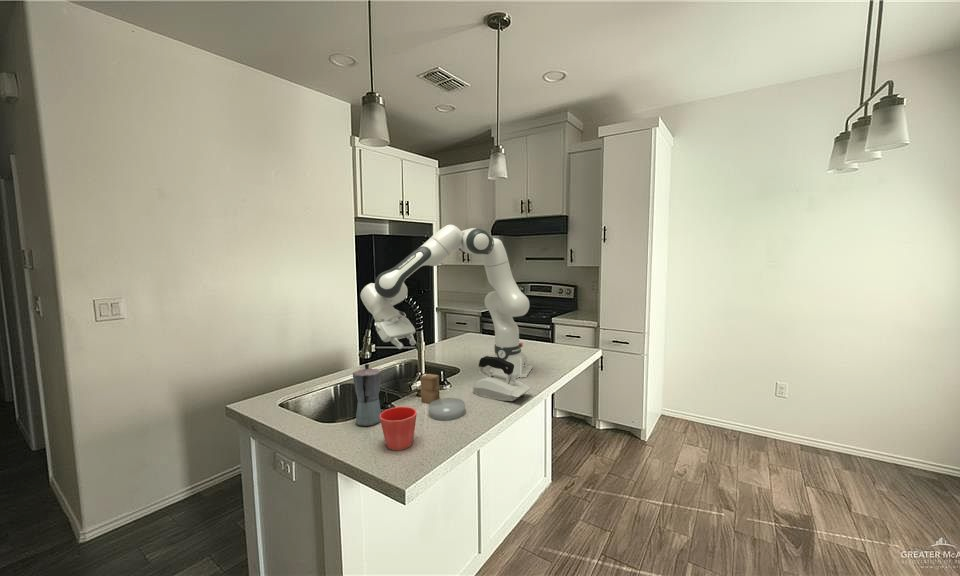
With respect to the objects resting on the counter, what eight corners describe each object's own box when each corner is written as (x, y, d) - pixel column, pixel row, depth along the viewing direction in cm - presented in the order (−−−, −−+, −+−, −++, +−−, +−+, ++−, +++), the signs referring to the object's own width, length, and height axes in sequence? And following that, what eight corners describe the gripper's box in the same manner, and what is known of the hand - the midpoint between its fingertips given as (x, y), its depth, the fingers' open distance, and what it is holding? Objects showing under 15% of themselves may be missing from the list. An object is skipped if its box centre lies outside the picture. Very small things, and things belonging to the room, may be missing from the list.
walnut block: (429, 398, 152) (428, 373, 151) (439, 400, 149) (438, 375, 148) (421, 402, 147) (420, 377, 146) (431, 404, 145) (430, 379, 144)
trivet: (442, 403, 146) (442, 395, 146) (471, 409, 139) (471, 401, 139) (421, 416, 135) (421, 408, 135) (451, 423, 128) (451, 415, 128)
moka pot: (384, 411, 140) (381, 358, 138) (383, 429, 125) (380, 370, 124) (356, 414, 138) (353, 360, 136) (353, 433, 123) (349, 373, 121)
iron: (518, 406, 141) (518, 366, 140) (466, 394, 155) (465, 358, 154) (532, 396, 150) (531, 359, 149) (481, 386, 164) (480, 351, 163)
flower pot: (394, 433, 123) (393, 404, 122) (424, 438, 118) (423, 408, 118) (373, 449, 113) (371, 417, 112) (405, 456, 109) (403, 423, 108)
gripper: (377, 315, 142) (399, 344, 139) (406, 312, 161) (425, 337, 158) (367, 326, 143) (387, 355, 140) (396, 321, 163) (415, 347, 159)
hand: (408, 346), depth 149 cm, fingers open, 8 cm apart
